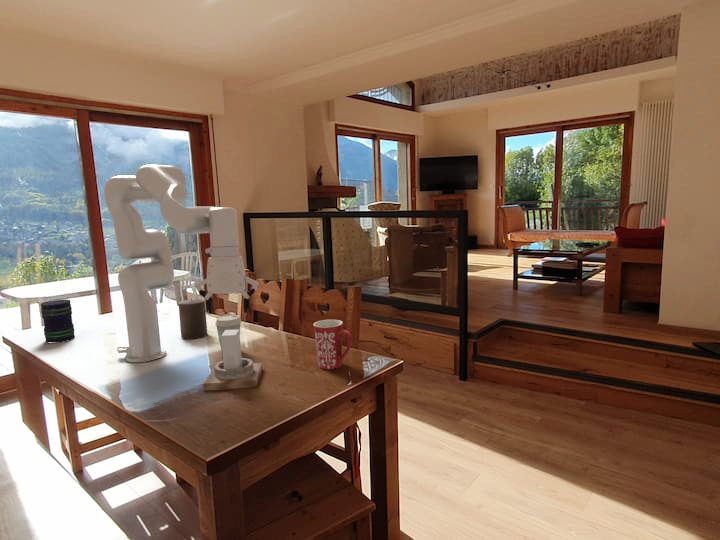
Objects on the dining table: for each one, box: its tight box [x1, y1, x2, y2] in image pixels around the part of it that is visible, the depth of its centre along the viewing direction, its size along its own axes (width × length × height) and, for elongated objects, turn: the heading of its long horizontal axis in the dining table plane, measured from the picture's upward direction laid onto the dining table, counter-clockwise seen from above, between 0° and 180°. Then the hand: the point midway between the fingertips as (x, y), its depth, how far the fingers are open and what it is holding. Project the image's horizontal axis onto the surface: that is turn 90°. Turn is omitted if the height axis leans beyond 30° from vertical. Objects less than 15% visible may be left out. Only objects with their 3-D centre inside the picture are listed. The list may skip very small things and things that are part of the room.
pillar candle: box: [178, 298, 208, 340], centre depth 176 cm, size 10×10×15 cm
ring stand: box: [203, 357, 263, 392], centre depth 130 cm, size 14×14×4 cm
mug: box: [312, 319, 353, 370], centre depth 137 cm, size 13×9×14 cm
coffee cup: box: [214, 314, 242, 354], centre depth 155 cm, size 9×8×12 cm
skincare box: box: [221, 329, 243, 370], centre depth 129 cm, size 6×4×12 cm
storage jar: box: [40, 299, 76, 343], centre depth 176 cm, size 10×10×15 cm
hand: (228, 312), depth 128 cm, fingers open, 9 cm apart
